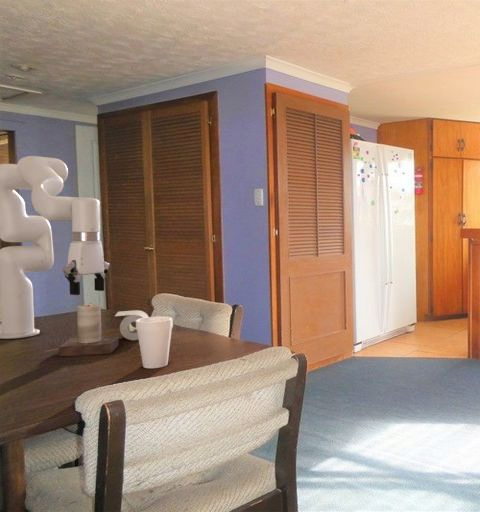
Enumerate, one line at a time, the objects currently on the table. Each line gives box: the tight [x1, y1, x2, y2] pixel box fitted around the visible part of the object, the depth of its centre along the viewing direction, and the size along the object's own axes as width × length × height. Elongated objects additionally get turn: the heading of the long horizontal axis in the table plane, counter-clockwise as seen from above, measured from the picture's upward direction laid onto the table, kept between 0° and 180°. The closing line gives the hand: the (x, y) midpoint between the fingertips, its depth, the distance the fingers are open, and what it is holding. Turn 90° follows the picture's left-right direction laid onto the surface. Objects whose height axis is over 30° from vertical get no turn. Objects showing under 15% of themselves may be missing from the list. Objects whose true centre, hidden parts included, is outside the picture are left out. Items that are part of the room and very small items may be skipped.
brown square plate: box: [58, 335, 120, 357], centre depth 165 cm, size 14×12×3 cm
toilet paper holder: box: [114, 309, 150, 341], centre depth 184 cm, size 12×9×15 cm
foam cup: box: [135, 316, 174, 369], centre depth 148 cm, size 10×9×13 cm
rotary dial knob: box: [76, 303, 102, 343], centre depth 164 cm, size 6×6×11 cm
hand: (87, 292), depth 164 cm, fingers open, 9 cm apart
